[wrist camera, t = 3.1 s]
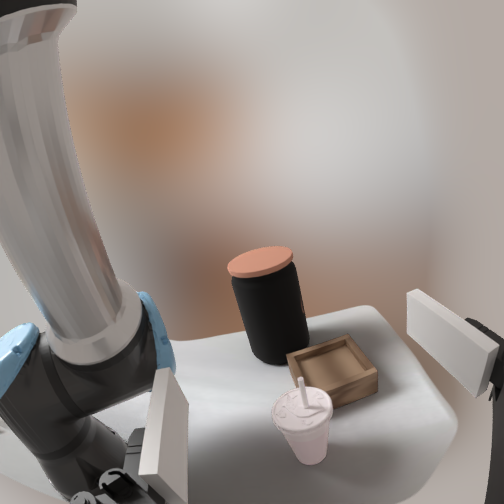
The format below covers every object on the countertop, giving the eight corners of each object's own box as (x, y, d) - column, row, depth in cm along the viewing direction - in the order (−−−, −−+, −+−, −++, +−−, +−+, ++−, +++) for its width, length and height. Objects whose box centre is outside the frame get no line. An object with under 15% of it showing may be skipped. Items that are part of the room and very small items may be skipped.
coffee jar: (322, 346, 51) (306, 252, 46) (272, 375, 47) (244, 279, 42) (289, 325, 61) (270, 242, 55) (244, 348, 57) (217, 263, 51)
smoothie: (328, 477, 27) (316, 407, 22) (277, 468, 30) (249, 396, 26) (343, 437, 32) (336, 358, 28) (297, 430, 35) (277, 354, 31)
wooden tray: (308, 417, 37) (304, 398, 35) (290, 373, 47) (286, 354, 45) (377, 391, 37) (377, 371, 36) (349, 353, 47) (348, 333, 46)
